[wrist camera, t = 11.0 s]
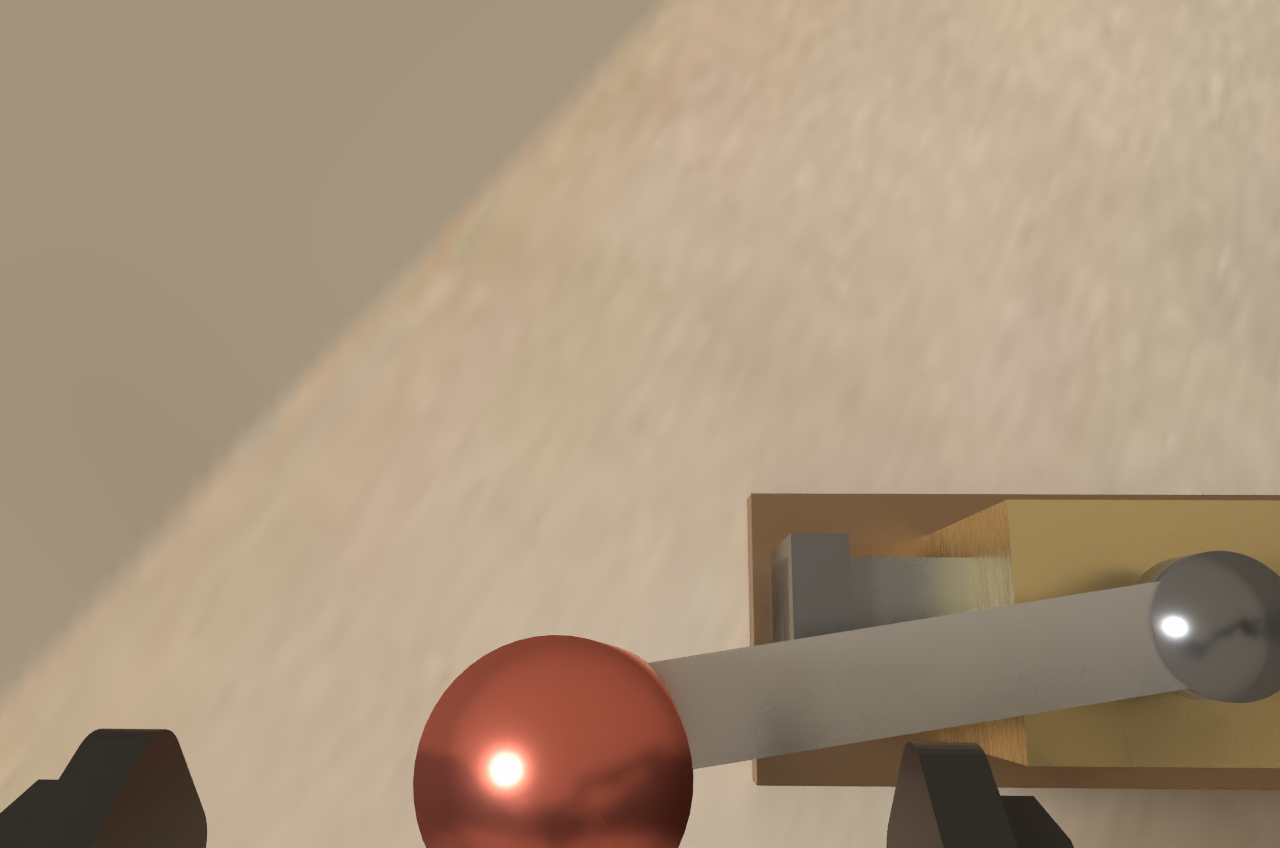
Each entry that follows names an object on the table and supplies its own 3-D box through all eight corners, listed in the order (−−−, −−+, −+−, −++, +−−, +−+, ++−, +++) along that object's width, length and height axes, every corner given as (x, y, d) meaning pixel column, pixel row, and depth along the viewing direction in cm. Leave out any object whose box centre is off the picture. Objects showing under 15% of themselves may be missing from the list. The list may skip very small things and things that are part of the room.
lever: (1241, 542, 20) (1706, 450, 11) (1286, 693, 19) (1820, 723, 10) (515, 658, 20) (399, 658, 11) (534, 816, 19) (428, 953, 10)
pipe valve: (1283, 501, 29) (1547, 435, 21) (1324, 784, 28) (1634, 843, 19) (747, 500, 30) (785, 434, 21) (753, 779, 28) (796, 835, 19)
